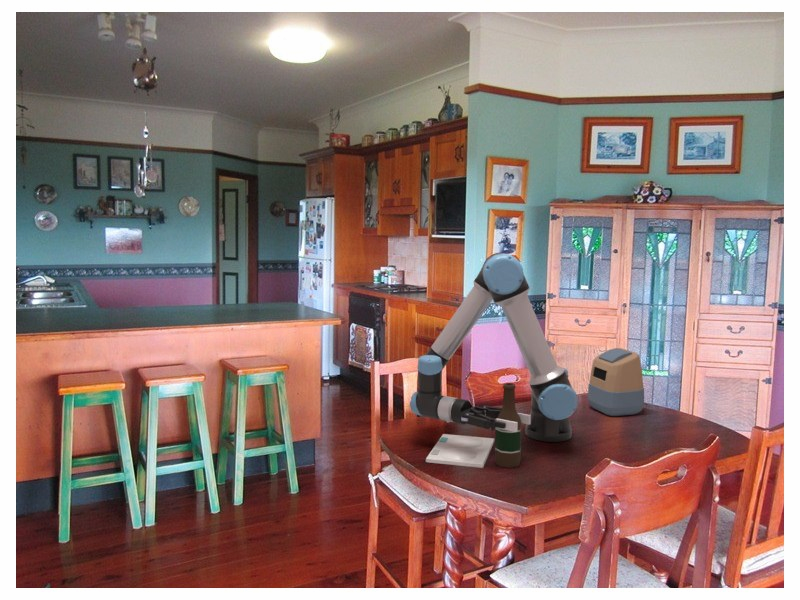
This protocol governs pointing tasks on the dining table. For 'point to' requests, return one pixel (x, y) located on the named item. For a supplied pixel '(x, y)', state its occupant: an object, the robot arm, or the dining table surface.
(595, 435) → the dining table surface
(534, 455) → the dining table surface
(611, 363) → the tan tapered boxy piece
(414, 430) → the dining table surface
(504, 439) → the beer bottle
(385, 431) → the dining table surface
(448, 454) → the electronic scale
